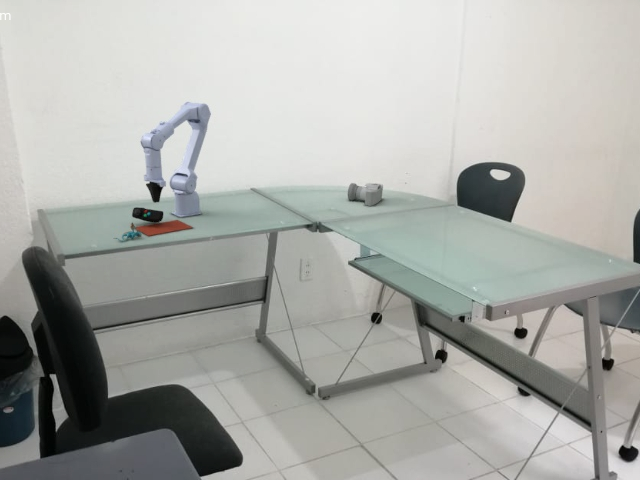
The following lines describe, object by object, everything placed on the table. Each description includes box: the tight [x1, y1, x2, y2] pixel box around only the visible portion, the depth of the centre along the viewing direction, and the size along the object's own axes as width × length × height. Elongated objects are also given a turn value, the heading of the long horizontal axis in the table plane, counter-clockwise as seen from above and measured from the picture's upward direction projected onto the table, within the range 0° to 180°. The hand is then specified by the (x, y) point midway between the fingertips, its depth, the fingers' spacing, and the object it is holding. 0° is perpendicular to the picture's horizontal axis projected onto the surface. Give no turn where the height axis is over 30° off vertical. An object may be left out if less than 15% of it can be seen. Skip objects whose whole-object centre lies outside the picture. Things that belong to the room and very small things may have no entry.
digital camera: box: [347, 182, 384, 207], centre depth 270 cm, size 17×14×10 cm
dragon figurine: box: [113, 221, 143, 243], centre depth 212 cm, size 7×7×8 cm
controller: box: [131, 207, 164, 224], centre depth 228 cm, size 4×12×10 cm
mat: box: [134, 219, 194, 237], centre depth 226 cm, size 18×12×1 cm, turn 128°
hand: (156, 201), depth 231 cm, fingers closed
